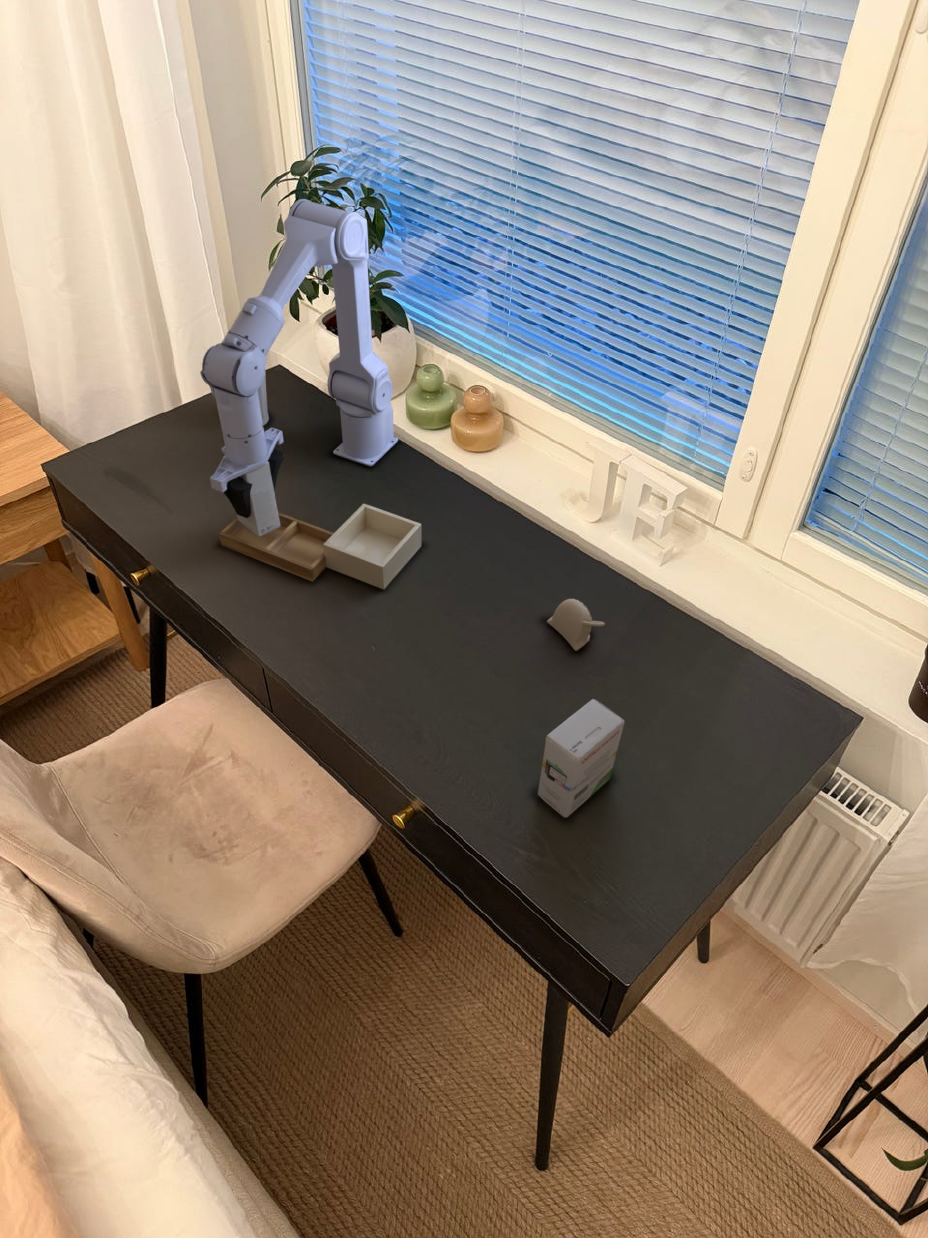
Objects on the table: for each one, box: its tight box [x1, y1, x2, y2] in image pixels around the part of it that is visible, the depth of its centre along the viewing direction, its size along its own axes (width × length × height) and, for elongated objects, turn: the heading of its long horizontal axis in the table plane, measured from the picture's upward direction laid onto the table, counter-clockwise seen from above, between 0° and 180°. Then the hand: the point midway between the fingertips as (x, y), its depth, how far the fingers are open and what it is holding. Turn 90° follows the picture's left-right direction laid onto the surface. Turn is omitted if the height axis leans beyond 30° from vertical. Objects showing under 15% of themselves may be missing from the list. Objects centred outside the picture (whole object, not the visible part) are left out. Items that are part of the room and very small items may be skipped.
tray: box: [218, 511, 335, 583], centre depth 138 cm, size 9×17×2 cm, turn 63°
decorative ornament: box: [546, 598, 606, 652], centre depth 125 cm, size 4×8×5 cm, turn 32°
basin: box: [323, 503, 422, 590], centre depth 136 cm, size 11×10×4 cm
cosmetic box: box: [236, 461, 280, 537], centre depth 134 cm, size 6×4×12 cm
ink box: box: [537, 698, 626, 819], centre depth 105 cm, size 8×5×12 cm, turn 134°
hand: (255, 504), depth 135 cm, fingers closed on cosmetic box, 5 cm apart
